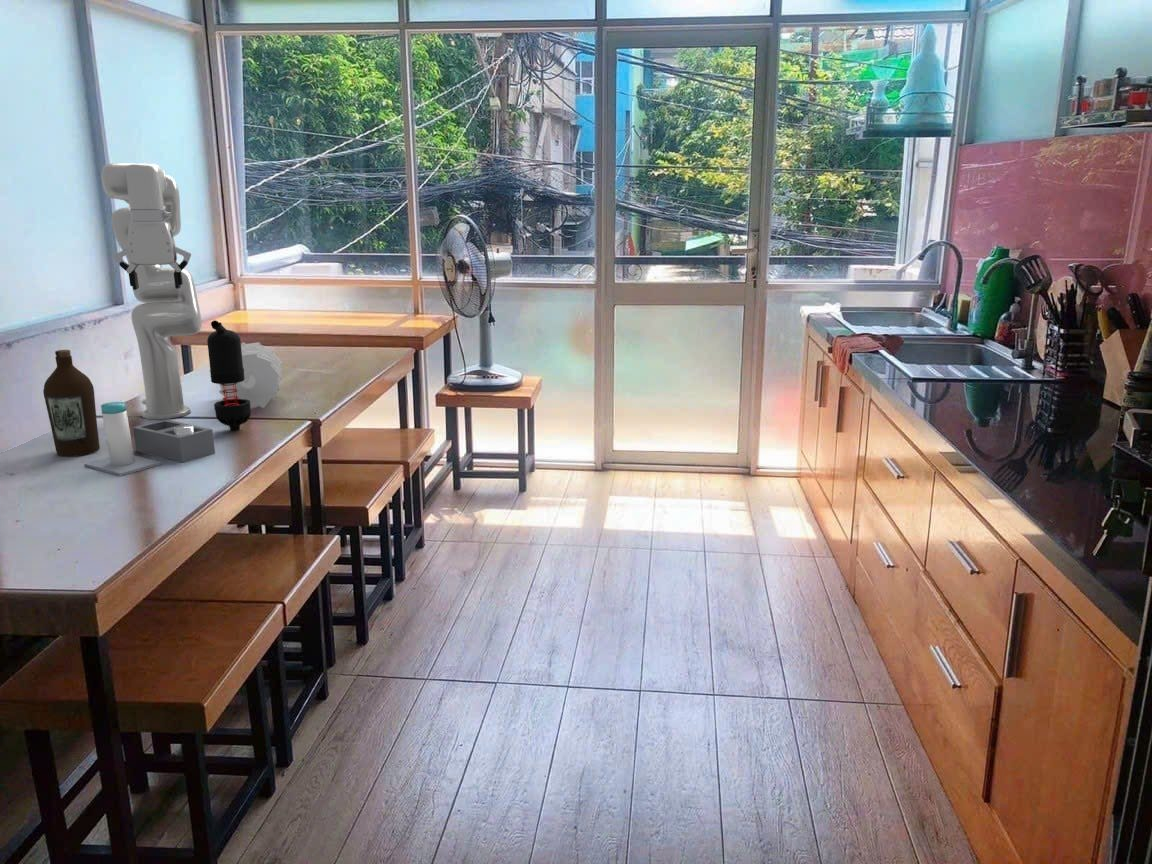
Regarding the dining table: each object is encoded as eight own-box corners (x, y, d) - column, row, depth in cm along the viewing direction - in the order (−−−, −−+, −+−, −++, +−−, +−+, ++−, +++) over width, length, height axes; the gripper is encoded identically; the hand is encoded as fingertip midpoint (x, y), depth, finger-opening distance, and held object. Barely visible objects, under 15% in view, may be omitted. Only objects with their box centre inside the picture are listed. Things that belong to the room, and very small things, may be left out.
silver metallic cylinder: (172, 447, 215) (169, 427, 214) (188, 443, 219) (185, 423, 218) (183, 450, 213) (181, 430, 212) (199, 446, 217) (197, 426, 216)
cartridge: (113, 460, 210) (103, 402, 206) (136, 458, 212) (127, 400, 208) (108, 466, 206) (98, 407, 202) (132, 464, 207) (122, 406, 203)
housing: (136, 451, 220) (132, 427, 218) (168, 442, 227) (165, 419, 226) (182, 462, 211) (179, 438, 209) (215, 453, 218) (212, 429, 217)
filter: (244, 435, 233) (232, 320, 225) (209, 435, 233) (196, 321, 225) (262, 422, 246) (251, 313, 238) (229, 422, 246) (217, 313, 238)
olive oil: (61, 446, 224) (45, 347, 217) (107, 444, 226) (93, 346, 219) (47, 459, 214) (30, 355, 207) (95, 456, 216) (80, 353, 209)
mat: (84, 466, 208) (84, 463, 208) (125, 455, 216) (124, 453, 216) (121, 475, 201) (120, 473, 201) (161, 464, 209) (160, 461, 209)
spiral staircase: (270, 406, 281) (268, 421, 258) (213, 385, 275) (205, 399, 251) (292, 352, 279) (291, 363, 256) (235, 330, 273) (229, 339, 250)
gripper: (189, 216, 222) (197, 286, 226) (113, 217, 218) (122, 288, 222) (183, 217, 215) (192, 289, 219) (105, 218, 211) (115, 291, 215)
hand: (157, 288), depth 221 cm, fingers open, 9 cm apart
